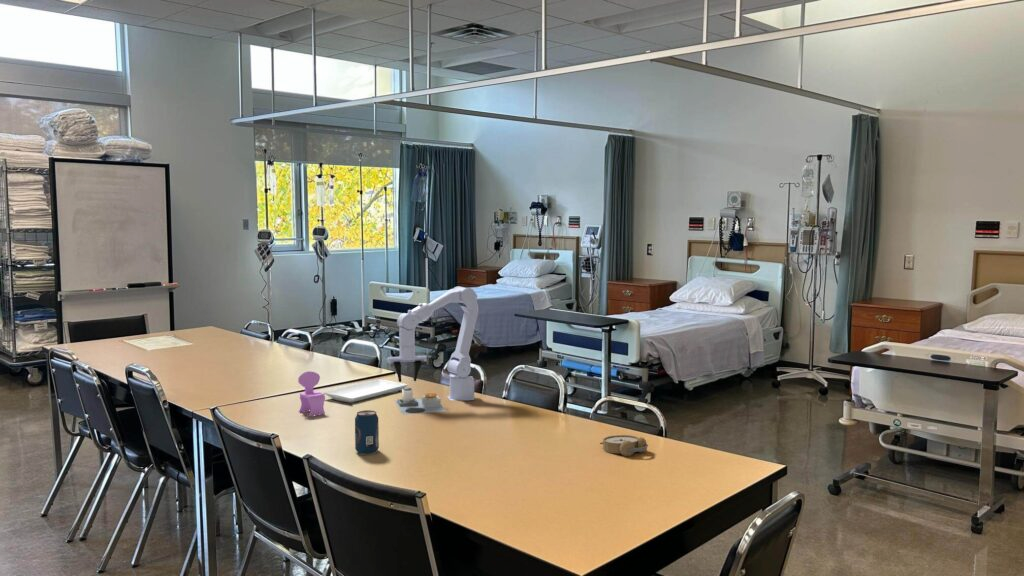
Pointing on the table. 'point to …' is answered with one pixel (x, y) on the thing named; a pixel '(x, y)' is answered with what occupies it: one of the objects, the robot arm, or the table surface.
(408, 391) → the cartridge
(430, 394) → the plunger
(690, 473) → the table surface
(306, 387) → the toy chair
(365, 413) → the soda can
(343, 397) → the tray
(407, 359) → the robot arm
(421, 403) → the panel
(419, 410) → the rubber pad
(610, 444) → the alarm clock
